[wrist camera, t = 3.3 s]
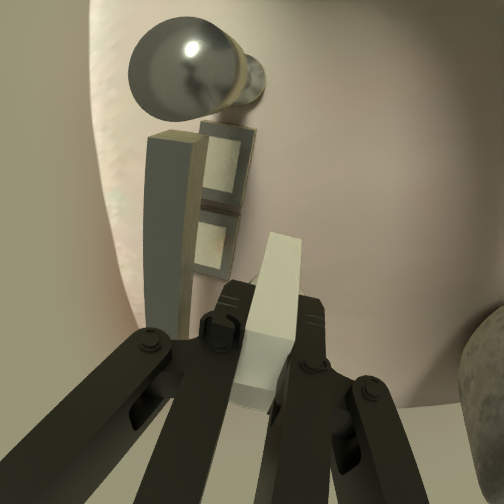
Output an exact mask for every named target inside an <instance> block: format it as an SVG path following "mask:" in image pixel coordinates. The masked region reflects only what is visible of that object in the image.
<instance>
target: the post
mask: <svg viewBox="0 0 504 504" xmlns="http://www.w3.org/2000/svg"><path fill="white" fill-rule="evenodd" d="M245 57H246V60H247V67H248V72H247V79H246V83H245V85H244V88H243V90H242V92H241V93H240V95H239V96H238V97H237V99H236V100H235V101H234V102H233V103H232V104H231V105H233V106H239V105H245V104H248V103H251V102H253V101H254V100H256V99H257V98H258V97H259V96H260V95H261V94H262V92H263V90H264V88H265V84H266V74H265V71H264V69H263V67H262V65H261V64H260V63H259V62H258V61H257V60H256V59H254V58H253V57H251V56H249V55H247V54H245Z"/></svg>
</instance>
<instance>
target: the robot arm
mask: <svg viewBox="0 0 504 504" xmlns="http://www.w3.org/2000/svg"><path fill="white" fill-rule="evenodd" d="M301 240H302V239H298V238H294V237H290V236H286V235H282V234H277V233H273V232H270V235H269V239H268V243H267V247H266V251H265V254H264V258H263V262H262V266H261V270H260V273H259V277H258V281H257V285H253V284H249V283H245V282H241V281H237V280H233V279H232V280H231V281H230V282H228V283H227V284H226V285H224V287H223V290H222V292H221V295H220V297H219V299H218V302H217V304H216V307H215V309H214V311H210V312H208V313H206V314H204V316H203V317H202V318H201V319H200V329H199V336H198V337H196V338H194V339H190V340H171V339H170V337H169V335H168V334H167V333H165V332H164V331H163V330H160V329H157V328H152V327H146V328H142V329H139V330H137V331H136V332H134V333H133V334H132V335H130V336H129V338H127V339H126V340H125V341H124V342H123V343H122V344H121V345H120V346H119V347H118V348H117V349H116V350H114V352H112V353H111V354H110V355H109V356H108V357H107V358H106V359H105V360H104V361H103V362H102V363H101V364H100V365H99V366H98V367H97V368H95V369H94V370H93V371H92V372H91V373H90V374H89V375H88V376H87V377H86V378H85V379H84V380H83V381H82V382H81V383H80V384H79V385H78V386H76V387H75V388H74V389H73V390H72V391H71V392H70V393H69V394H68V395H67V396H66V397H65V398H64V399H63V400H62V401H61V402H60V403H59V404H58V405H57V406H56V407H55V408H54V409H53V410H52V411H51V412H50V413H49V414H48V415H47V416H45V418H44V419H42V420H41V422H40V423H38V424H37V425H36V427H34V428H33V429H32V430H31V431H30V432H29V433H28V434H27V435H26V436H25V437H24V438H23V439H22V440H21V441H20V442H19V443H18V444H17V445H16V446H15V447H14V448H13V449H12V450H11V451H10V452H9V453H8V454H7V455H6V456H5V457H4V458H3V459H2V460H1V462H0V504H84V503H85V502H86V500H88V498H89V497H90V496H91V495H92V494H93V492H94V491H95V490H96V489H97V488H98V487H99V485H100V484H101V483H102V482H103V481H104V479H105V478H106V477H107V476H108V475H109V473H110V472H111V471H112V470H113V468H114V467H115V466H116V465H117V464H118V463H119V461H120V460H121V459H122V458H123V457H124V455H125V454H126V453H127V452H128V450H129V449H130V448H131V447H132V445H133V444H134V443H135V442H136V441H137V439H138V438H139V437H140V436H141V434H142V433H143V432H144V431H145V430H146V428H147V427H148V426H149V424H150V423H151V422H152V421H153V419H154V418H155V417H156V416H157V415H158V413H159V412H160V411H161V410H162V408H163V407H164V406H165V404H166V403H167V402H168V401H169V400H170V398H174V400H173V403H172V406H171V408H170V411H169V413H168V415H167V418H166V420H165V423H164V425H163V428H162V430H161V433H160V435H159V438H158V441H157V443H156V446H155V448H154V451H153V453H152V456H151V458H150V461H149V463H148V466H147V469H146V471H145V474H144V476H143V479H142V481H141V484H140V487H139V489H138V492H137V494H136V497H135V500H134V502H133V504H201V500H202V496H203V493H204V489H205V486H206V482H207V479H208V475H209V471H210V468H211V464H212V460H213V457H214V453H215V450H216V446H217V442H218V438H219V435H220V431H221V427H222V424H223V420H224V416H225V412H226V409H227V405H228V401H229V397H230V393H231V389H232V385H233V382H236V383H240V384H244V385H248V386H253V387H257V388H262V389H266V390H271V391H274V390H275V388H276V393H275V397H274V399H273V401H272V404H271V406H270V408H269V410H268V412H267V414H268V415H270V417H269V422H268V428H267V435H266V440H265V446H264V451H263V457H262V462H261V468H260V473H259V479H258V484H257V489H256V494H255V499H254V504H328V497H329V496H328V495H329V482H330V480H329V479H330V468H331V472H332V477H333V482H334V486H335V491H336V495H337V500H338V504H429V501H428V498H427V494H426V491H425V488H424V485H423V482H422V479H421V476H420V473H419V470H418V467H417V464H416V461H415V458H414V455H413V452H412V450H411V447H410V444H409V441H408V439H407V436H406V433H405V430H404V428H403V425H402V423H401V420H400V417H399V415H398V412H397V409H396V407H395V404H394V402H393V399H392V397H391V394H390V392H389V390H388V388H387V386H386V385H385V383H383V382H382V381H381V380H380V379H378V378H376V377H373V376H367V375H365V376H361V377H358V378H357V379H356V380H355V381H354V380H351V379H349V378H347V377H345V376H343V375H341V374H339V373H337V372H336V371H335V370H334V369H332V368H331V364H330V362H329V360H328V359H327V358H326V345H325V310H324V307H323V305H322V303H321V301H320V300H319V299H317V298H312V297H308V296H304V295H299V279H300V261H301ZM276 385H277V386H276Z"/></svg>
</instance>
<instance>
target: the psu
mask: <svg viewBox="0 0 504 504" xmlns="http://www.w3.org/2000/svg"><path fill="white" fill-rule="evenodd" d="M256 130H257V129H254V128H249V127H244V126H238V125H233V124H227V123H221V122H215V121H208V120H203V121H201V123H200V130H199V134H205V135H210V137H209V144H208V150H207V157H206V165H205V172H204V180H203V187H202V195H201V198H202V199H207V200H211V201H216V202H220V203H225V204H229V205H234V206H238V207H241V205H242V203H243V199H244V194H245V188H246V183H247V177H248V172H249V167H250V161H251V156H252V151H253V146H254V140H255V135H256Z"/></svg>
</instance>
